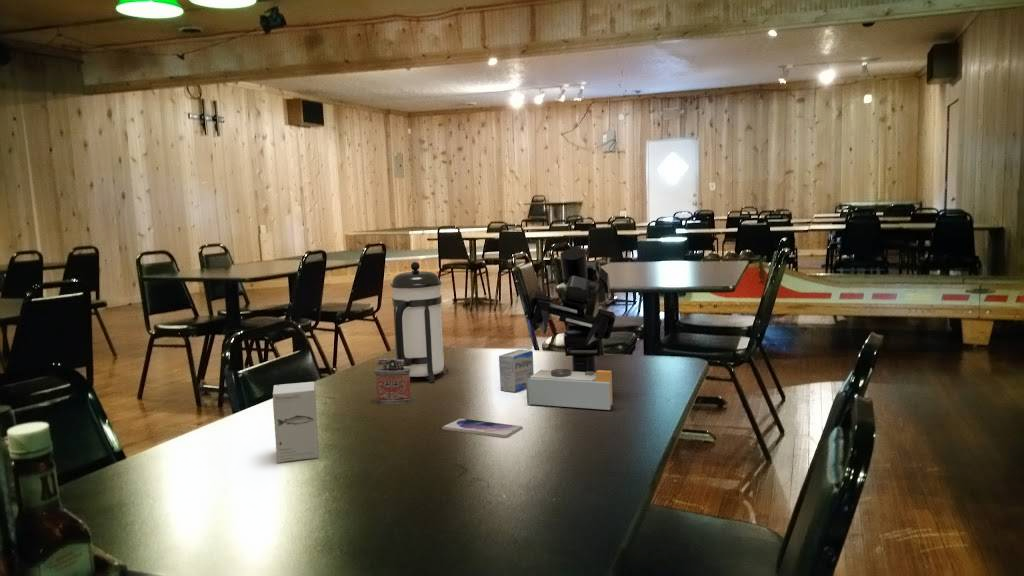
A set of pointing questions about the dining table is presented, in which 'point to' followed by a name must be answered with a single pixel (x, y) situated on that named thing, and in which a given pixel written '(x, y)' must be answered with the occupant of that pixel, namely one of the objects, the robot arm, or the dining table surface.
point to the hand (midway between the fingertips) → (566, 337)
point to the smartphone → (482, 428)
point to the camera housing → (565, 375)
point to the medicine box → (515, 370)
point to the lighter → (393, 382)
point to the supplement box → (295, 421)
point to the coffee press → (418, 322)
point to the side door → (572, 392)
